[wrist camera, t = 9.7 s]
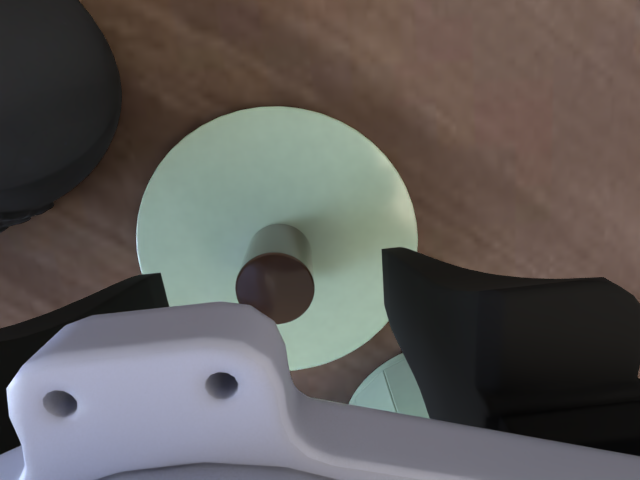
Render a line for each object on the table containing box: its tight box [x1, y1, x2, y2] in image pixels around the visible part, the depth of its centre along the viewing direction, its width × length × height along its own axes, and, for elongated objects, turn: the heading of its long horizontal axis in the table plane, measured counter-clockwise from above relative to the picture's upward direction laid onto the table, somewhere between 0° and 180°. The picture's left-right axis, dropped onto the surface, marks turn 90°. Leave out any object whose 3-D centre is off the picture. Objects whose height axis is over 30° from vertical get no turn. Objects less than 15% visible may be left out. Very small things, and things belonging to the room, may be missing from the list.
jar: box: [349, 353, 430, 419], centre depth 18 cm, size 10×10×6 cm
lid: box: [136, 106, 418, 371], centre depth 15 cm, size 11×11×4 cm
